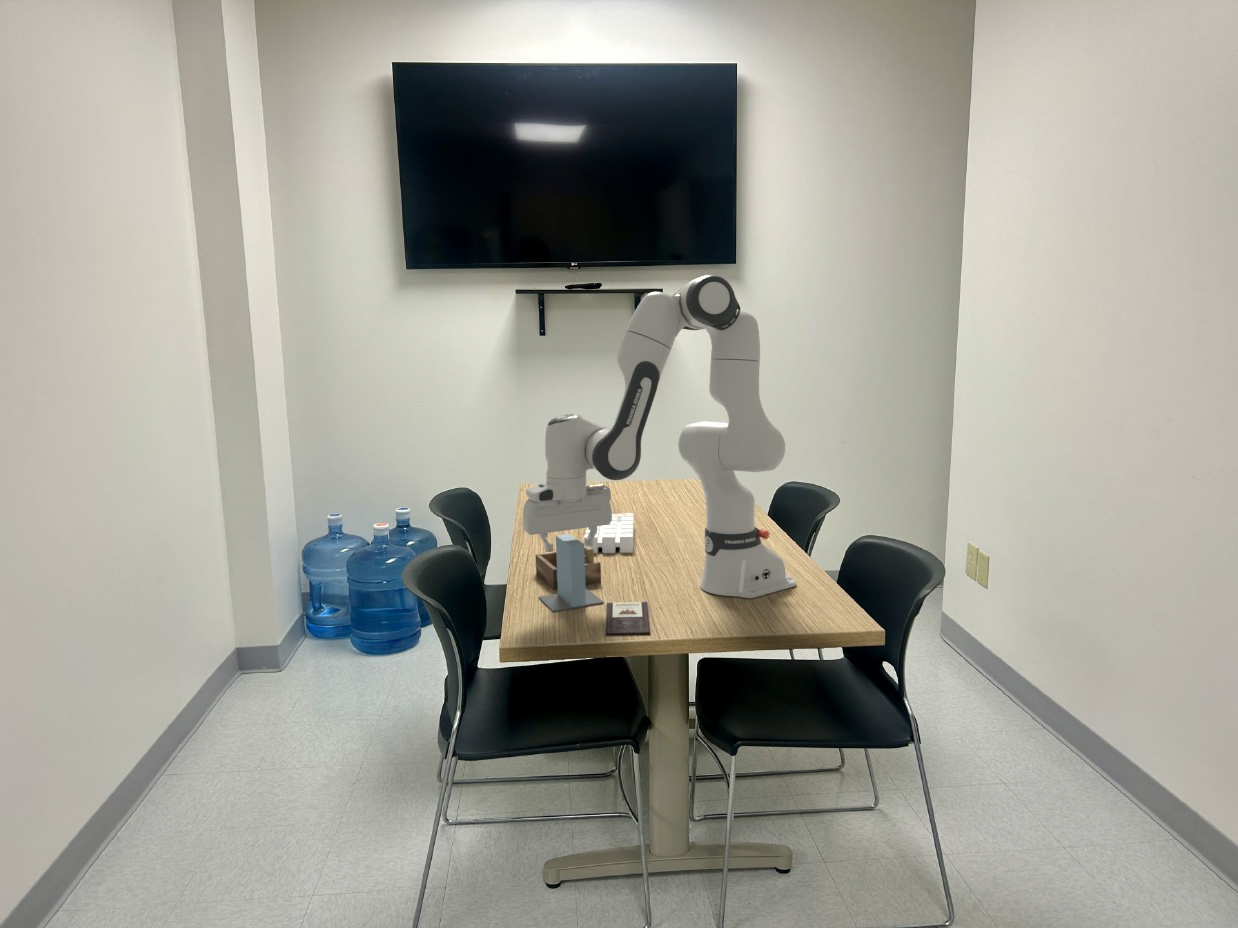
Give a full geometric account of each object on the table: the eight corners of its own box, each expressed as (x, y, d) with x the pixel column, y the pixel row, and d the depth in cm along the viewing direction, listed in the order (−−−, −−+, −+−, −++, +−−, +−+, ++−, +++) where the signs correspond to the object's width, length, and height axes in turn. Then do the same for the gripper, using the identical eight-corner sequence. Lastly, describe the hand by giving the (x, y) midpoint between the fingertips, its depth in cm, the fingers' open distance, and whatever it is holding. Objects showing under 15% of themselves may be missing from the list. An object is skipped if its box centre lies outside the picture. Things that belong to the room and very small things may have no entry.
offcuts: (579, 563, 209) (578, 539, 208) (594, 574, 200) (593, 549, 199) (563, 566, 207) (562, 541, 206) (577, 577, 198) (576, 551, 197)
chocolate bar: (605, 633, 165) (606, 602, 183) (605, 637, 165) (607, 606, 183) (650, 632, 165) (647, 601, 183) (650, 636, 165) (647, 605, 183)
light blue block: (570, 591, 191) (568, 533, 189) (586, 604, 182) (584, 544, 180) (557, 593, 190) (555, 535, 188) (572, 607, 181) (570, 545, 178)
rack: (580, 567, 211) (580, 548, 210) (601, 582, 199) (600, 562, 198) (536, 573, 207) (535, 554, 206) (554, 589, 194) (553, 569, 193)
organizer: (584, 537, 223) (592, 508, 258) (584, 554, 224) (592, 523, 259) (632, 536, 223) (633, 507, 257) (632, 553, 224) (634, 522, 258)
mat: (587, 590, 193) (587, 588, 193) (603, 603, 184) (603, 601, 184) (538, 598, 188) (538, 596, 188) (552, 611, 179) (552, 610, 179)
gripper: (604, 481, 189) (606, 539, 191) (518, 490, 181) (521, 550, 183) (615, 485, 183) (617, 545, 185) (527, 495, 175) (530, 558, 177)
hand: (569, 548), depth 184 cm, fingers open, 8 cm apart
